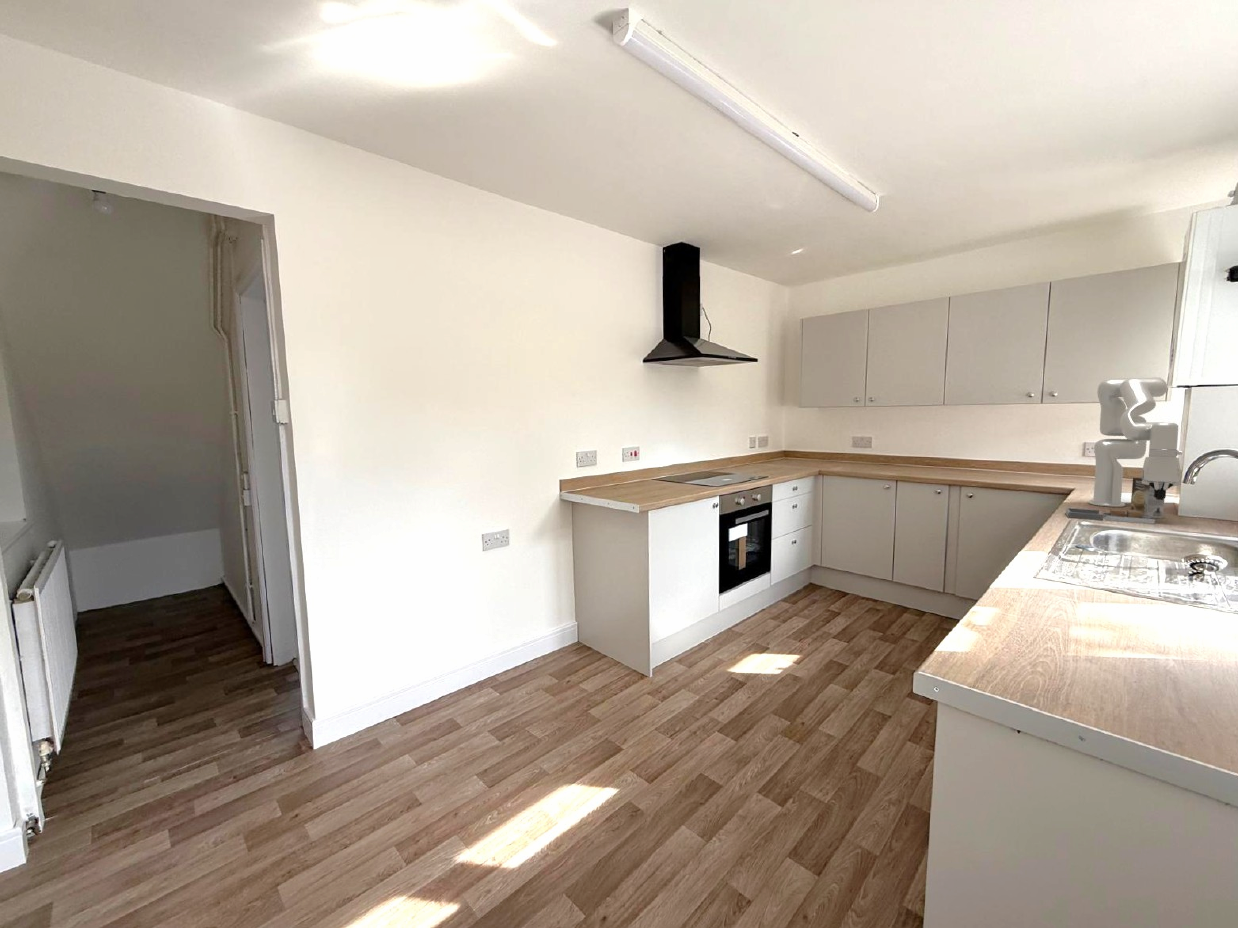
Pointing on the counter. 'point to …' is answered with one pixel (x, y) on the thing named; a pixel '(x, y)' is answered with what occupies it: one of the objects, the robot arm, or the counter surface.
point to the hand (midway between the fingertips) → (1159, 499)
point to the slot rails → (1129, 518)
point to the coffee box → (1146, 499)
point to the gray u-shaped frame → (1083, 514)
